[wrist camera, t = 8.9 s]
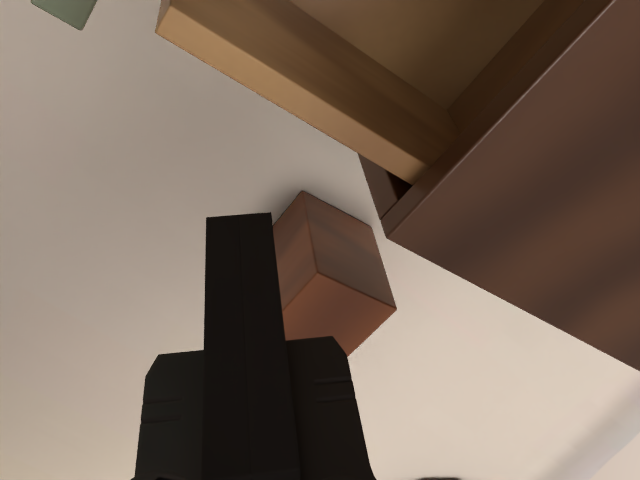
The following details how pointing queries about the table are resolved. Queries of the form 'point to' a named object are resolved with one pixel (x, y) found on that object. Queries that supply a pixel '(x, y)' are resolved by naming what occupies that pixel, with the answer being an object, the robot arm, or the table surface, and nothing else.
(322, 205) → the brown rectangular block
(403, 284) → the table surface
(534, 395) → the table surface
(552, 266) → the cabinet
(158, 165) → the table surface
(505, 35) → the drawer
